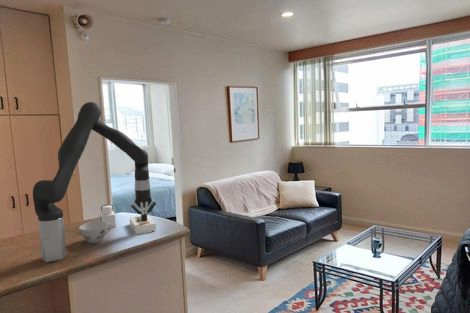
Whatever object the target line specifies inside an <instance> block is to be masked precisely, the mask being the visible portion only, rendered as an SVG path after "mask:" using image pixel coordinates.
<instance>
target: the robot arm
mask: <svg viewBox="0 0 470 313" xmlns="http://www.w3.org/2000/svg"><path fill="white" fill-rule="evenodd" d="M101 115H102V110H101V107H100V106H99V104H98V103H97V102H94V101H89V102H88V101H87V102H86V103H84V104H82V105H81V107H80V110H79V111H78V113H77V119H76V121H75V123H74V124H73V126H72V128H70V131H69V132H68V133H67V135H66V136H65V138H64V140H63V141H62V143H61V145H60V147H59V149H58V151H57V161H58V170H57V172H56V175H55V176H54V178H53V179H52V180H51V179H47V180H45V179H42V180H38V181H37V182H36V183H34V185H33V188H32V199H33V200H32V201H33V206H34V211H35V212H34V213H35V214H36V216H37V219H38V220H37V221H38V230H39V241H40V252H41V253H40V254H41V261H43V262H45V263H51V262H52V263H53V262H57V261H62V260H63V259H65V257H66V256H67V245H66V244H67V243H66V234H65V232H66V231H65V222H64V211H63V209H61V208H60V207H59V206H58V205H57V206H56V203H60V202H61V201H62V200H63V199H64V198H65V195H66V193H67V191H68V188H69V185H70V183H71V179H72V176H73V175H74V172H75V169H76V167H77V165H78V164H79V161H80V158H82V155H83V153H84V152H85V149H86V146H87V144H88V141H89V138H90V135H91V132H92V131H93V132H95V133H97V134H98V135H101V137H104V138H105V139H106V140H108V141H109V142H110V143H112V144H113V145H114V146H116V147H117V148H118V149H119V150H120V151H122V152H123V153H125V154H126V155H127V156H129V158H130V159H131V160H133V161H134V196H135V200H134V203H132V204H130V207H131V208H132V209H133V210H134V212H135V213H136V214H138V215H140V216H141V220H142V221H143V222H145V221H146V220H147V215H149V213H151V212H152V211H153V209H154V208H155V206H156V205H157V203H156V201H154V200H152V197H151V183H150V171H149V153H148V152H147V151H146V150H145V149H143V148H141V147H140V146H139V145H137V144H136V143H135V142H134V141H133V140H132V139H131V138H130V137H128V135H126V134H125V133H123V132H122V131H120V130H118V129H116V128H113V127H110V126H109V125H107V124H106V123H104V122H103V121H102V119H100V118H101ZM137 207H138V208H137Z"/></svg>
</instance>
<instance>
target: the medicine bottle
mask: <svg viewBox="0 0 470 313" xmlns="http://www.w3.org/2000/svg"><path fill="white" fill-rule="evenodd" d="M100 210H101V211H100V215H99V216H100V221H101V222H107V223H108V224H112V229H113V228H116V227H117V223H116V214H115V212H114V206H113V204H104V205H102V206H101V207H100ZM110 228H111V227H110V226H108V229H110Z"/></svg>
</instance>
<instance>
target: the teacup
mask: <svg viewBox="0 0 470 313" xmlns="http://www.w3.org/2000/svg"><path fill="white" fill-rule="evenodd" d="M108 226H110V227H111V228H108ZM108 229H109V230H108ZM112 229H113V228H112V224H108V223H107V222H101V220H98V221H89V222H86V223H82V225H79V231H80V234H81V236H82V237H83V239H84V240H85V241H87V242H88V243H90V244H96V243H99V242H101V241H102V240H103V238H105V236H106V235H107V234H108V233H110V232H111V231H112Z"/></svg>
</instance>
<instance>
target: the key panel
mask: <svg viewBox="0 0 470 313" xmlns="http://www.w3.org/2000/svg"><path fill="white" fill-rule="evenodd" d="M135 217H141V215H136V216H130V217H129V225H130V227H131V228H132V230H133V232H134V233H135V235H141V234H148V233H152V231H154V232H157V229H156V228H157V227H156V226H157V225H156V223H155V221H154V220H153V219H152V218H151V216H149V214H147V221H145V222H148V223H149V224H147V225H140V224H139V223H143V222H138V221H137V219H135ZM147 232H148V233H147Z"/></svg>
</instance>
